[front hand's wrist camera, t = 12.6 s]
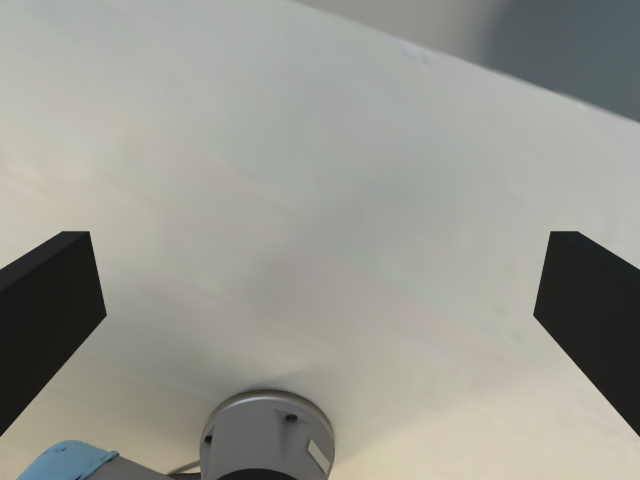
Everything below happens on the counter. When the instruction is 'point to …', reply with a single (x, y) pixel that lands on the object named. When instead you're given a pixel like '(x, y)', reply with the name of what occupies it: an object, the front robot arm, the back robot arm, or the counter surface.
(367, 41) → the counter surface
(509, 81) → the counter surface
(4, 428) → the front robot arm
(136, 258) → the counter surface
